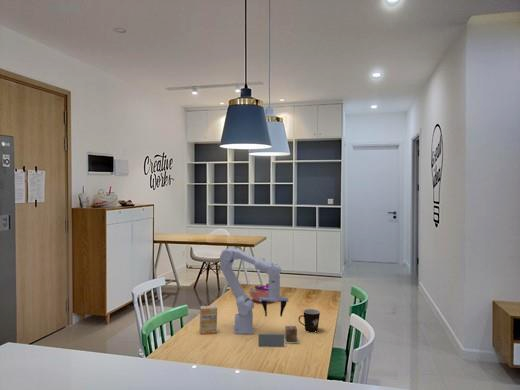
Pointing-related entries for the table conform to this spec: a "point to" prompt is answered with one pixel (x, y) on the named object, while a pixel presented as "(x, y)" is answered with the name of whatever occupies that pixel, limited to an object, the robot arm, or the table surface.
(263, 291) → the cell model
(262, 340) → the screen
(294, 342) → the pad
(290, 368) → the table surface
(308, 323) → the coffee mug
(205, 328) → the supplement box
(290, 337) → the walnut block
